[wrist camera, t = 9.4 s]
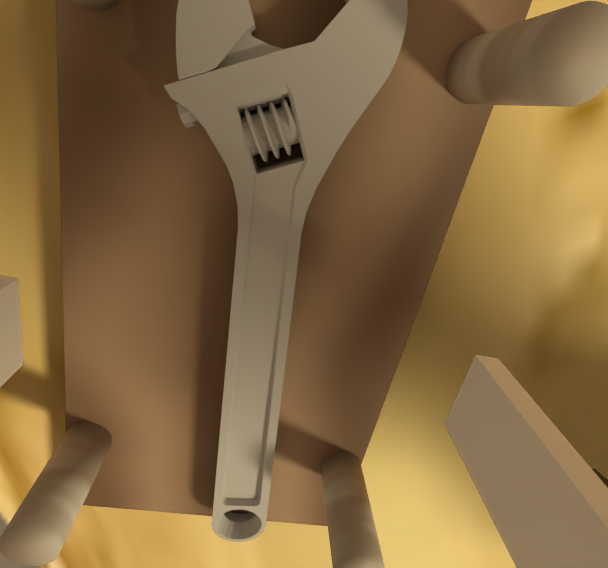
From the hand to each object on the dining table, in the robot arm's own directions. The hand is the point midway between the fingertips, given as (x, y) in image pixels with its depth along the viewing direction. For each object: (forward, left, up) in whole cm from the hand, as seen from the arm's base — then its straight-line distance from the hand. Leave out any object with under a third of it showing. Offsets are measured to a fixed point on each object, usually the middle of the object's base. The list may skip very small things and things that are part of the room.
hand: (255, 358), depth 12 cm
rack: (0, 0, -6) cm, 6 cm away
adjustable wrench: (+1, 0, -5) cm, 5 cm away
